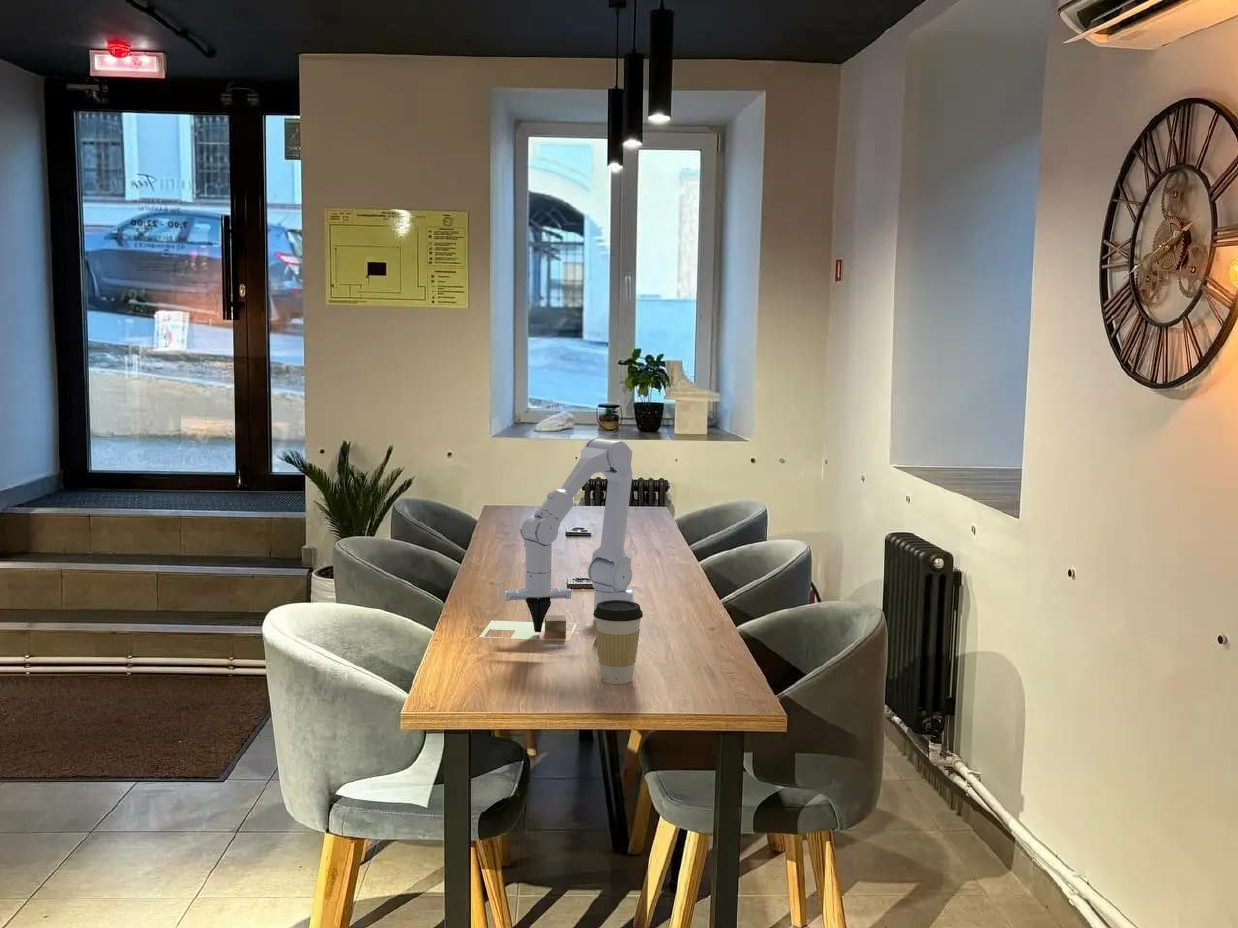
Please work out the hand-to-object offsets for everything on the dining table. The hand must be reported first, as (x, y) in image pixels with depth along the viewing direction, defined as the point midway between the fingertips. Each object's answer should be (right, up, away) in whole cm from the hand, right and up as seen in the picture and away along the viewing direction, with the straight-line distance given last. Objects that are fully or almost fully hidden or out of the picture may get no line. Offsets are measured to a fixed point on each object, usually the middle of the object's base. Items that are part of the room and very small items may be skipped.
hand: (537, 631), depth 234 cm
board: (-2, -2, +4) cm, 5 cm away
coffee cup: (+18, -6, -24) cm, 31 cm away
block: (+4, -1, 0) cm, 4 cm away
